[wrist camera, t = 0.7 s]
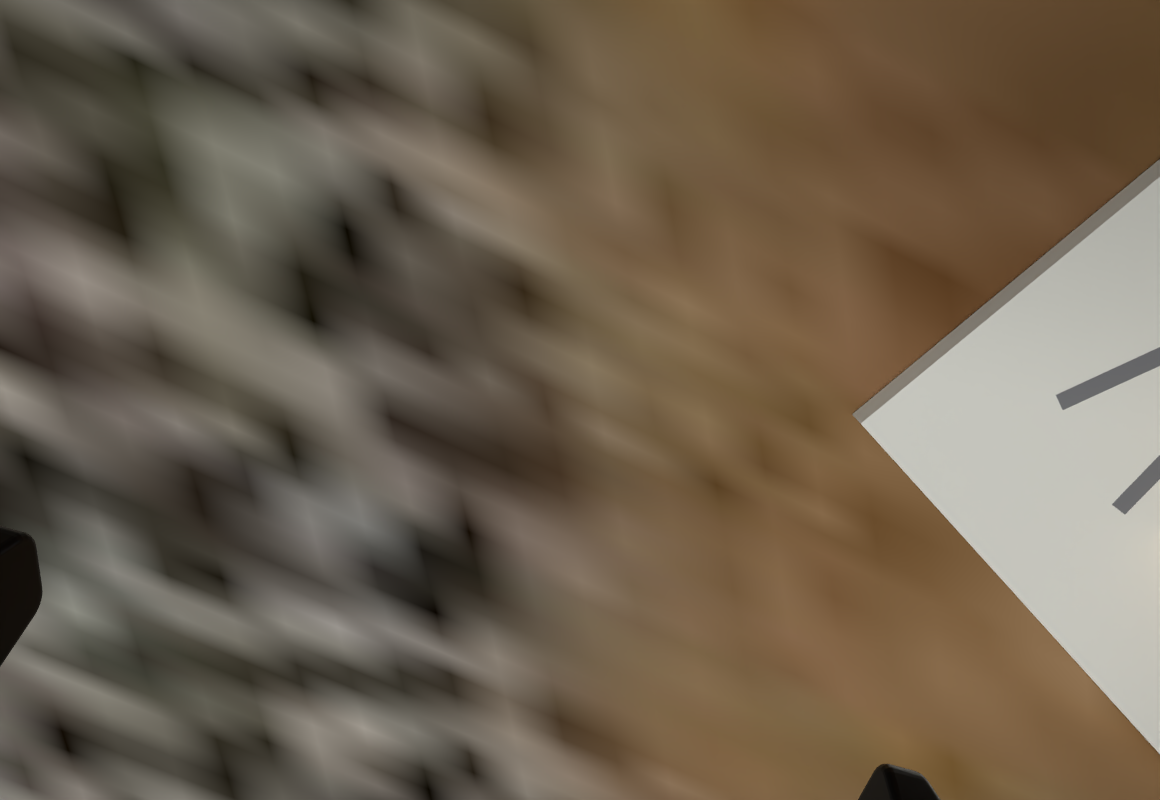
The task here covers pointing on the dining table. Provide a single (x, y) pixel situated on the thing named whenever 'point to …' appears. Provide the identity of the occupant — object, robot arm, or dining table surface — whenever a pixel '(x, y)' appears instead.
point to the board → (1057, 442)
